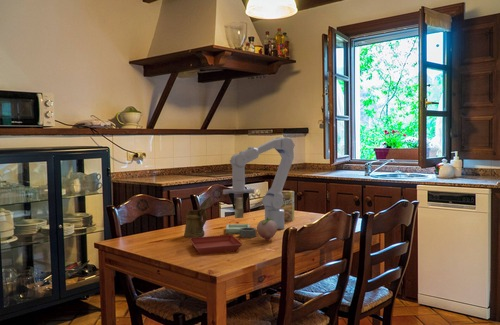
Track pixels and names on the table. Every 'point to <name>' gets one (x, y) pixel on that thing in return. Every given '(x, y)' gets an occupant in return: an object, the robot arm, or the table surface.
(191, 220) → the brown wooden container
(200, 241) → the plant saucer
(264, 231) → the decorative fruit
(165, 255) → the table surface
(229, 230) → the tray
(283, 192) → the candy box
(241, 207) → the dowel
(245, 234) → the octagonal ring
